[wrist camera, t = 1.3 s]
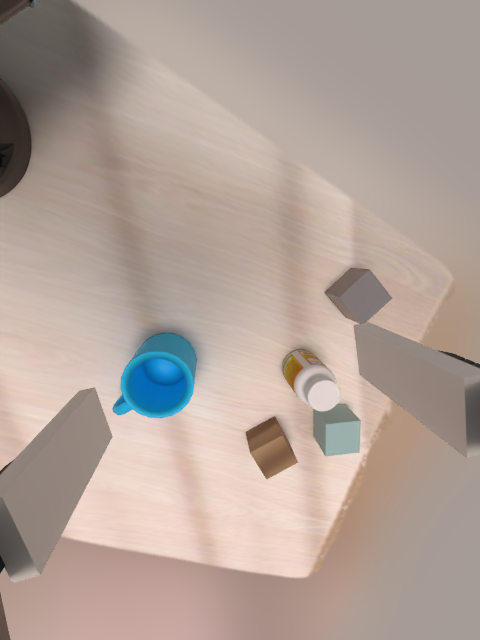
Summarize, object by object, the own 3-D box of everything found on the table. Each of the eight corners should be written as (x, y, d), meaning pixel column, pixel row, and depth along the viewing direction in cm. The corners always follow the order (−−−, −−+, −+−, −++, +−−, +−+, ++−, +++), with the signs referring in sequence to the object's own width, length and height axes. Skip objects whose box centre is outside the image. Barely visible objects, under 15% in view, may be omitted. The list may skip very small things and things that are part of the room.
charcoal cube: (324, 292, 42) (339, 297, 37) (350, 268, 42) (369, 269, 37) (345, 317, 43) (362, 324, 38) (371, 293, 43) (392, 298, 38)
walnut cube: (245, 431, 45) (250, 452, 40) (274, 416, 45) (282, 435, 40) (260, 456, 46) (266, 479, 41) (288, 440, 46) (297, 462, 41)
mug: (170, 321, 40) (161, 336, 32) (208, 364, 42) (208, 389, 34) (103, 374, 41) (78, 402, 33) (143, 414, 43) (129, 450, 35)
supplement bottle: (288, 388, 44) (310, 424, 35) (276, 357, 43) (295, 385, 34) (321, 374, 44) (352, 406, 35) (310, 343, 43) (338, 367, 34)
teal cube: (313, 406, 46) (325, 424, 41) (344, 403, 46) (360, 420, 41) (313, 435, 47) (325, 456, 42) (343, 432, 47) (359, 452, 42)
